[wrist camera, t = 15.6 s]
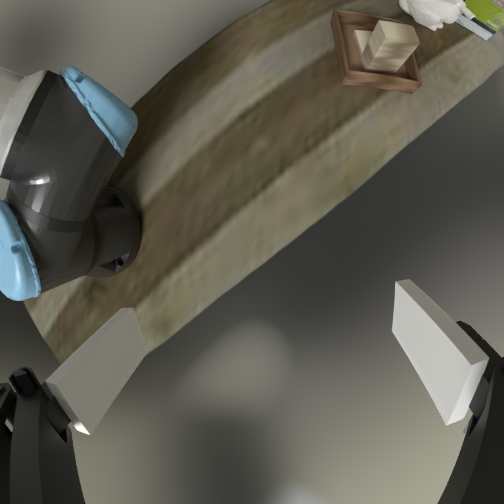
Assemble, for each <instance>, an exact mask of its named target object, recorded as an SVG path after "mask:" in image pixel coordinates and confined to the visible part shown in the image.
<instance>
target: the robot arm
mask: <svg viewBox="0 0 504 504" xmlns="http://www.w3.org/2000/svg"><path fill="white" fill-rule="evenodd" d="M137 127H138V119H137V116H136V114H135V112H134V111H133V110H132V109H131V108H129V107H128V106H127V105H126V104H125V103H123V102H122V101H121V100H120V99H118V98H117V97H116V96H115V95H113V94H112V93H111V92H110V91H108V90H107V89H106V88H104V87H103V86H102V85H100V84H99V83H97V82H96V81H95V80H93V79H92V78H90V77H88V76H87V75H86V74H84V73H83V72H81V71H80V70H79V69H77V68H76V67H74V66H73V65H66V66H65V67H64V68H62V69H61V70H60V75H58V74H56V73H54V72H51V71H49V70H47V69H44V70H42V71H39V72H37V73H35V74H33V75H30V76H26V77H24V76H22V75H20V74H17V73H15V72H12V71H10V70H7V69H5V68H2V67H0V177H1V178H4V179H7V180H10V184H9V187H8V191H7V194H6V197H5V199H4V200H1V199H0V290H1V291H2V292H3V293H4V294H5V295H6V296H7V297H8V298H10V299H12V300H17V301H20V300H24V299H27V298H31V297H37V296H39V295H40V294H41V293H44V292H46V291H48V290H50V289H53V288H55V287H57V286H60V285H62V284H64V283H67V282H69V281H72V280H74V279H77V278H79V277H81V276H93V277H110V276H113V275H116V274H118V273H120V272H122V271H124V270H125V269H127V268H128V267H129V266H130V265H131V263H132V262H133V260H134V259H135V257H136V255H137V252H138V249H139V245H140V239H141V228H140V221H139V217H138V214H137V211H136V209H135V207H134V205H133V203H132V202H131V200H130V199H129V198H128V197H127V196H126V195H125V194H124V193H123V192H122V191H120V190H118V189H116V188H113V187H106V185H107V183H108V181H109V179H110V177H111V176H112V174H113V172H114V170H115V168H116V167H117V165H118V163H119V161H120V160H121V158H122V157H124V155H125V150H126V148H127V146H128V144H129V143H130V141H131V139H132V137H133V135H134V134H135V132H136V130H137ZM392 328H393V329H392V332H393V334H394V335H395V337H396V338H397V340H398V341H399V343H400V345H401V346H402V348H403V349H404V351H405V353H406V354H407V356H408V358H409V359H410V361H411V363H412V364H413V366H414V368H415V369H416V371H417V373H418V374H419V376H420V378H421V380H422V381H423V383H424V385H425V387H426V389H427V390H428V392H429V394H430V396H431V397H432V399H433V401H434V403H435V405H436V407H437V409H438V411H439V412H440V414H441V416H442V418H443V420H444V422H445V424H446V425H449V424H451V423H454V422H456V421H458V420H461V419H463V418H464V416H465V414H466V412H467V410H468V408H470V409H471V411H472V412H473V415H472V417H471V419H470V420H469V422H468V424H467V426H466V428H465V429H464V431H463V433H466V435H465V438H464V441H463V445H462V447H461V450H460V453H459V456H458V459H457V462H456V464H455V467H454V469H453V471H452V474H451V476H450V478H449V481H448V483H447V485H446V488H445V490H444V492H443V494H442V496H441V498H440V500H439V502H438V504H504V357H502V358H501V357H500V356H499V354H498V353H497V352H496V351H495V350H494V349H493V348H492V347H491V346H490V345H489V344H488V343H487V342H486V341H485V340H484V339H482V337H481V336H480V335H479V334H477V332H476V331H475V330H474V329H473V328H472V327H471V326H470V325H468V324H466V323H464V322H462V321H458V322H454V320H453V319H451V317H449V316H448V315H447V314H446V313H445V312H444V311H443V310H442V309H441V308H440V307H439V306H438V305H437V304H436V303H435V302H434V301H433V300H432V299H431V298H429V297H428V296H427V295H426V294H425V293H424V292H423V291H422V290H421V289H420V288H419V287H418V286H416V285H415V284H414V283H413V282H412V281H411V280H410V279H408V280H402V281H397V282H396V284H395V303H394V316H393V327H392ZM147 352H148V350H147V347H146V344H145V342H144V339H143V336H142V333H141V331H140V328H139V325H138V322H137V319H136V316H135V313H134V310H133V308H121V309H120V310H119V311H118V312H117V313H116V314H115V315H113V316H112V317H111V318H110V319H109V320H108V321H107V322H106V323H105V324H104V325H103V326H102V327H100V328H99V329H98V330H97V331H96V332H95V333H94V334H93V335H92V336H91V337H90V338H89V339H88V340H87V341H86V342H85V343H83V344H82V345H81V346H80V347H79V348H78V349H77V350H76V351H75V352H74V353H73V354H72V355H71V356H70V357H69V358H68V359H67V360H66V361H65V362H64V363H63V364H62V365H61V366H60V367H59V368H58V369H57V370H56V371H55V372H54V373H53V374H52V375H51V376H50V377H49V378H48V379H47V380H46V381H45V382H44V383H43V384H42V385H40V383H39V381H38V379H37V378H36V376H35V374H34V372H33V371H32V369H31V368H30V367H21V368H19V369H17V370H15V371H14V372H13V373H12V374H11V375H10V377H9V380H10V382H11V383H12V385H13V387H14V388H15V390H16V392H14V391H13V389H12V387H11V385H10V384H9V383H1V384H0V504H85V501H84V497H83V493H82V489H81V485H80V481H79V476H78V471H77V466H76V460H75V454H74V448H73V440H72V432H71V430H70V428H69V426H68V424H69V423H70V422H72V423H73V425H74V426H75V427H76V429H77V430H78V431H80V432H83V433H86V434H89V435H91V433H92V432H93V430H94V428H95V427H96V426H97V424H98V423H99V421H100V420H101V418H102V417H103V415H104V414H105V412H106V411H107V409H108V408H109V406H110V405H111V403H112V402H113V401H114V399H115V398H116V396H117V395H118V393H119V392H120V390H121V389H122V388H123V386H124V384H125V383H126V382H127V380H128V379H129V377H130V376H131V375H132V373H133V372H134V370H135V369H136V367H137V366H138V365H139V363H140V362H141V360H142V359H143V358H144V356H145V355H146V353H147ZM6 419H7V420H8V422H9V423H10V424H11V425H12V427H13V432H11V431H10V430H9V428H8V427H7V426H6V424H5V421H6ZM466 431H467V432H466Z"/></svg>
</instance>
